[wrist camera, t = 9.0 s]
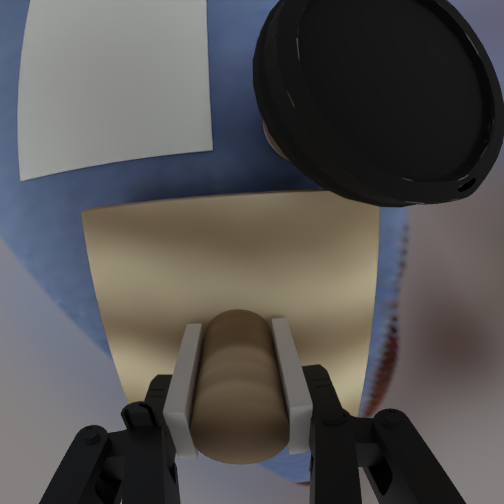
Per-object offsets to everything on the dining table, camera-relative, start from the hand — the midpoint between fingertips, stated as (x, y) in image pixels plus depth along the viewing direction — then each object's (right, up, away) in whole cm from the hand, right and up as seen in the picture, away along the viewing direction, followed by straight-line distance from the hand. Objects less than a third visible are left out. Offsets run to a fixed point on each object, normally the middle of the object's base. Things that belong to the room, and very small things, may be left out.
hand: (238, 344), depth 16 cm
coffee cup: (+4, +14, +5) cm, 15 cm away
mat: (-10, +20, +2) cm, 23 cm away
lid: (0, 0, +2) cm, 2 cm away
